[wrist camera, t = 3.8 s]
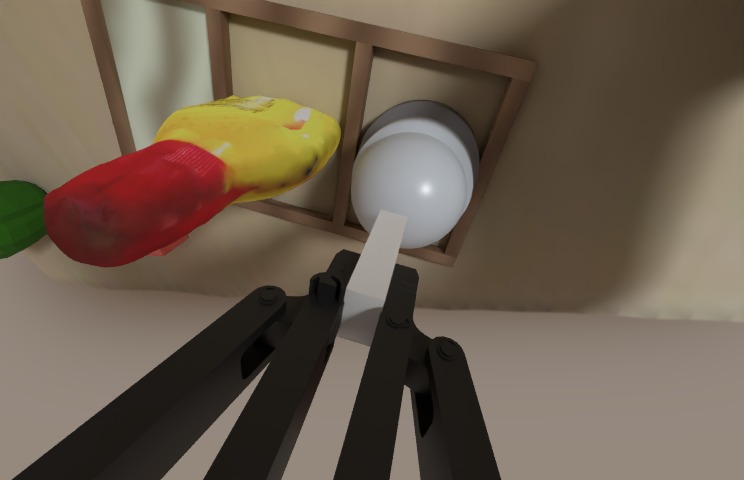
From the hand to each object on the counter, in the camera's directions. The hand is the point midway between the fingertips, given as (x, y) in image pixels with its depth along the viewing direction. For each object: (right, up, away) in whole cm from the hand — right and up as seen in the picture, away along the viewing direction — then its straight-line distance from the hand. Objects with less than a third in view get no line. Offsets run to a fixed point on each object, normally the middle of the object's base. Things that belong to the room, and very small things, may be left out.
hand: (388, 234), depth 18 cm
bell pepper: (-44, +5, +25) cm, 51 cm away
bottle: (-8, +10, +11) cm, 17 cm away
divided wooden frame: (-8, +10, +11) cm, 17 cm away
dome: (+3, +5, +8) cm, 10 cm away
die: (-26, +2, +21) cm, 33 cm away
